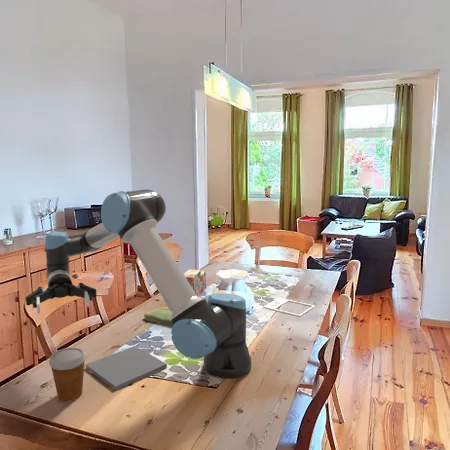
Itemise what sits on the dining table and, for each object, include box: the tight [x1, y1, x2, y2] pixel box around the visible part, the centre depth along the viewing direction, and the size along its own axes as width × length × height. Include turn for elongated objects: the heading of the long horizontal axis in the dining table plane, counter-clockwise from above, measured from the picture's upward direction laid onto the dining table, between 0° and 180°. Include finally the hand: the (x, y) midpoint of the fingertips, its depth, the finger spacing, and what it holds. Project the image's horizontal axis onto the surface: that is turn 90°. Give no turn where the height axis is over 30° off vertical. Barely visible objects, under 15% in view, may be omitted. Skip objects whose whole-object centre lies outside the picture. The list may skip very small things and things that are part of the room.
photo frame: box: [262, 297, 316, 317], centre depth 179 cm, size 15×1×18 cm
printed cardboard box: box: [183, 269, 207, 297], centre depth 196 cm, size 21×6×12 cm, turn 168°
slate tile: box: [85, 345, 168, 391], centre depth 127 cm, size 18×18×1 cm
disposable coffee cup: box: [48, 347, 87, 402], centre depth 112 cm, size 10×10×12 cm
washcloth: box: [143, 306, 173, 327], centre depth 167 cm, size 13×18×3 cm
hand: (64, 305), depth 118 cm, fingers open, 13 cm apart
